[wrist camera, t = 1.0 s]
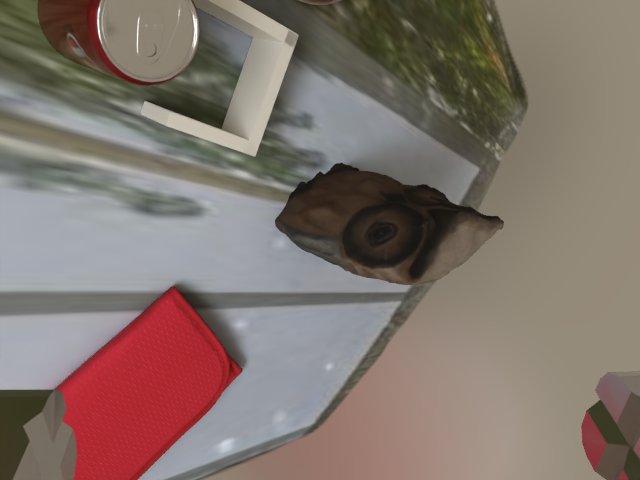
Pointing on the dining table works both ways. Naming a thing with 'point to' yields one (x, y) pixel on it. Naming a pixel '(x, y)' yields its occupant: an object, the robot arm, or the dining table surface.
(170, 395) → the dish drying mat
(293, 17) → the dining table surface
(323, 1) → the plant saucer
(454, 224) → the brown irregular lump
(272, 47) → the beige angled piece
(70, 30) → the soda can
